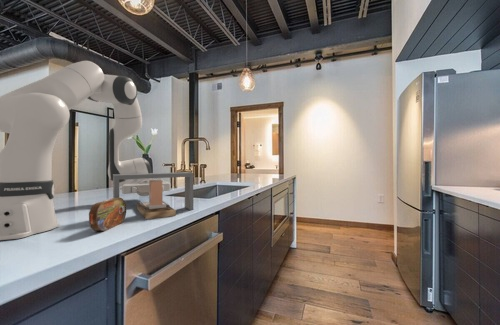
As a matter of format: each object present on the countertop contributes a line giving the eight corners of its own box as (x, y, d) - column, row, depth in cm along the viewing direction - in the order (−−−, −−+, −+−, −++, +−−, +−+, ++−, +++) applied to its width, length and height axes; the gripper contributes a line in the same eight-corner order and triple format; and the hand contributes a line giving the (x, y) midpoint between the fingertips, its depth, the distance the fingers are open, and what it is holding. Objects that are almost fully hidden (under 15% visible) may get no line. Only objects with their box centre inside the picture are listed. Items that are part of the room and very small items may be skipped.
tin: (97, 235, 64) (97, 204, 64) (86, 234, 65) (86, 204, 64) (127, 220, 80) (127, 195, 79) (118, 220, 80) (118, 195, 80)
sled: (149, 209, 87) (149, 181, 87) (145, 206, 93) (145, 180, 92) (166, 207, 90) (166, 181, 90) (161, 204, 96) (161, 179, 96)
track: (146, 219, 81) (146, 211, 81) (137, 208, 99) (136, 201, 99) (175, 215, 86) (175, 207, 86) (161, 206, 104) (161, 199, 104)
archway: (114, 219, 82) (114, 175, 81) (113, 215, 87) (113, 174, 87) (193, 209, 97) (193, 172, 97) (188, 207, 102) (188, 172, 102)
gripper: (119, 180, 107) (122, 183, 95) (166, 178, 118) (173, 180, 106) (119, 194, 107) (122, 199, 95) (166, 191, 118) (173, 195, 106)
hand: (149, 189), depth 101 cm, fingers open, 8 cm apart
